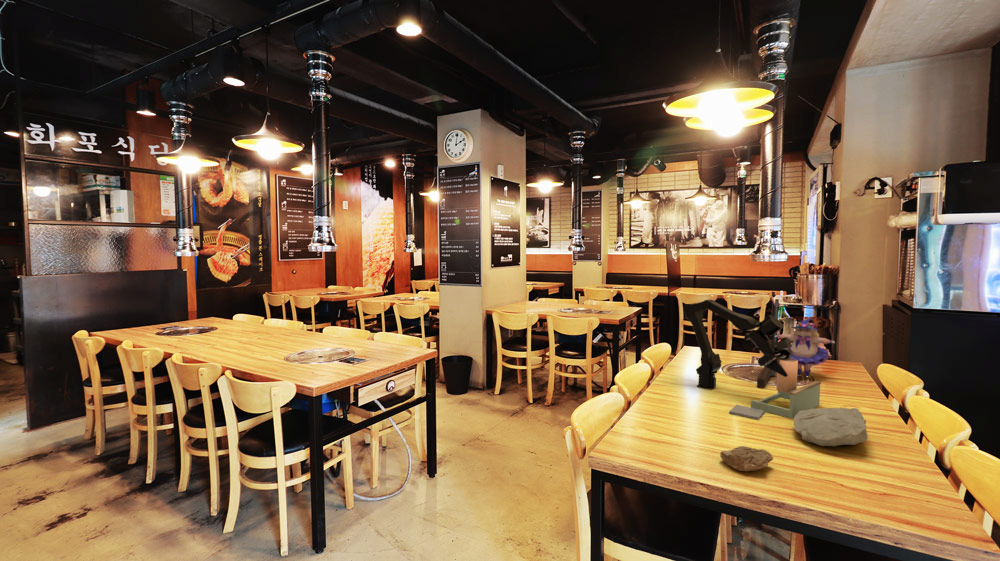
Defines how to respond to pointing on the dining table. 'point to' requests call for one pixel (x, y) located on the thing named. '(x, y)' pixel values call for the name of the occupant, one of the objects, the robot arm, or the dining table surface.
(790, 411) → the cold frame
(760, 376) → the hammer
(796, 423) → the stone
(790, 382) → the pink cup
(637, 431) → the dining table surface
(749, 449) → the rock
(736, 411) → the metal tile
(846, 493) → the dining table surface
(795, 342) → the toy
